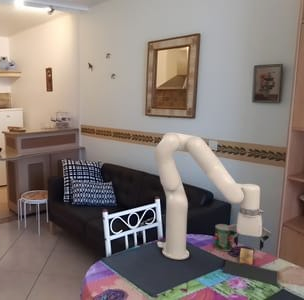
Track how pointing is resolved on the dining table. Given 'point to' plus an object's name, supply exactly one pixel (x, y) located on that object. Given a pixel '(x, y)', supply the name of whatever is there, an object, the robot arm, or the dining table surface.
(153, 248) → the dining table surface
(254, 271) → the mat
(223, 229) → the canned tomato
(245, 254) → the block
